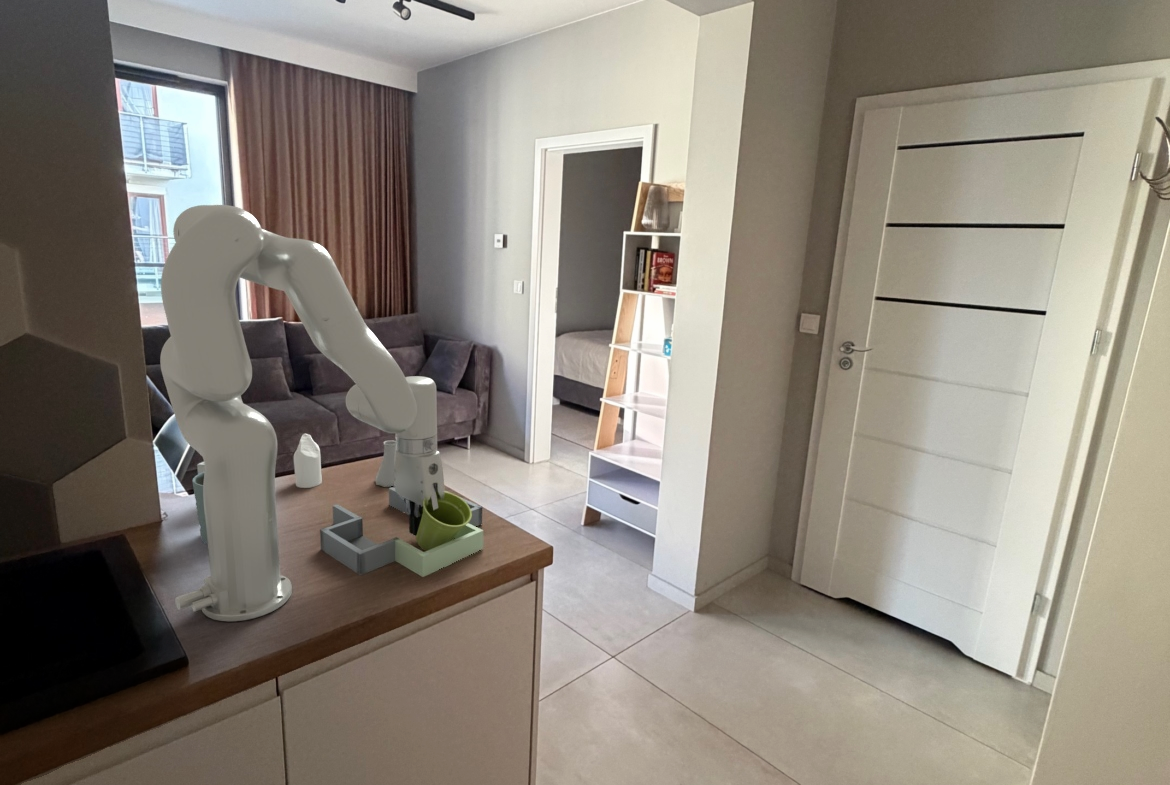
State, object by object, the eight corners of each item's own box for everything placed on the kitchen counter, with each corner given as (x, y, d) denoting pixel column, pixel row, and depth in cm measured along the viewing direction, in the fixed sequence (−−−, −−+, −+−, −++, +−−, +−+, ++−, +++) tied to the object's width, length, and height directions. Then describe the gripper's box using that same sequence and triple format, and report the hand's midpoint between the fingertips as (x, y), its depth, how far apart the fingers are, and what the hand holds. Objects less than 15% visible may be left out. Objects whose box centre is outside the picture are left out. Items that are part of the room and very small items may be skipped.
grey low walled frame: (387, 593, 102) (387, 571, 101) (299, 535, 119) (298, 516, 118) (509, 537, 123) (509, 519, 122) (419, 495, 140) (419, 478, 139)
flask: (412, 483, 147) (411, 444, 144) (383, 490, 142) (382, 449, 140) (398, 474, 152) (397, 435, 150) (369, 480, 147) (368, 440, 145)
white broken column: (308, 439, 137) (286, 436, 138) (310, 489, 140) (289, 486, 141) (325, 432, 143) (304, 429, 144) (327, 480, 146) (306, 477, 147)
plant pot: (464, 549, 119) (481, 516, 116) (430, 567, 111) (447, 532, 108) (432, 519, 123) (448, 485, 119) (397, 534, 114) (412, 499, 111)
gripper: (458, 447, 113) (459, 538, 118) (408, 429, 122) (411, 514, 127) (425, 457, 108) (427, 552, 112) (375, 438, 116) (379, 526, 121)
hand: (418, 531), depth 120 cm, fingers closed
